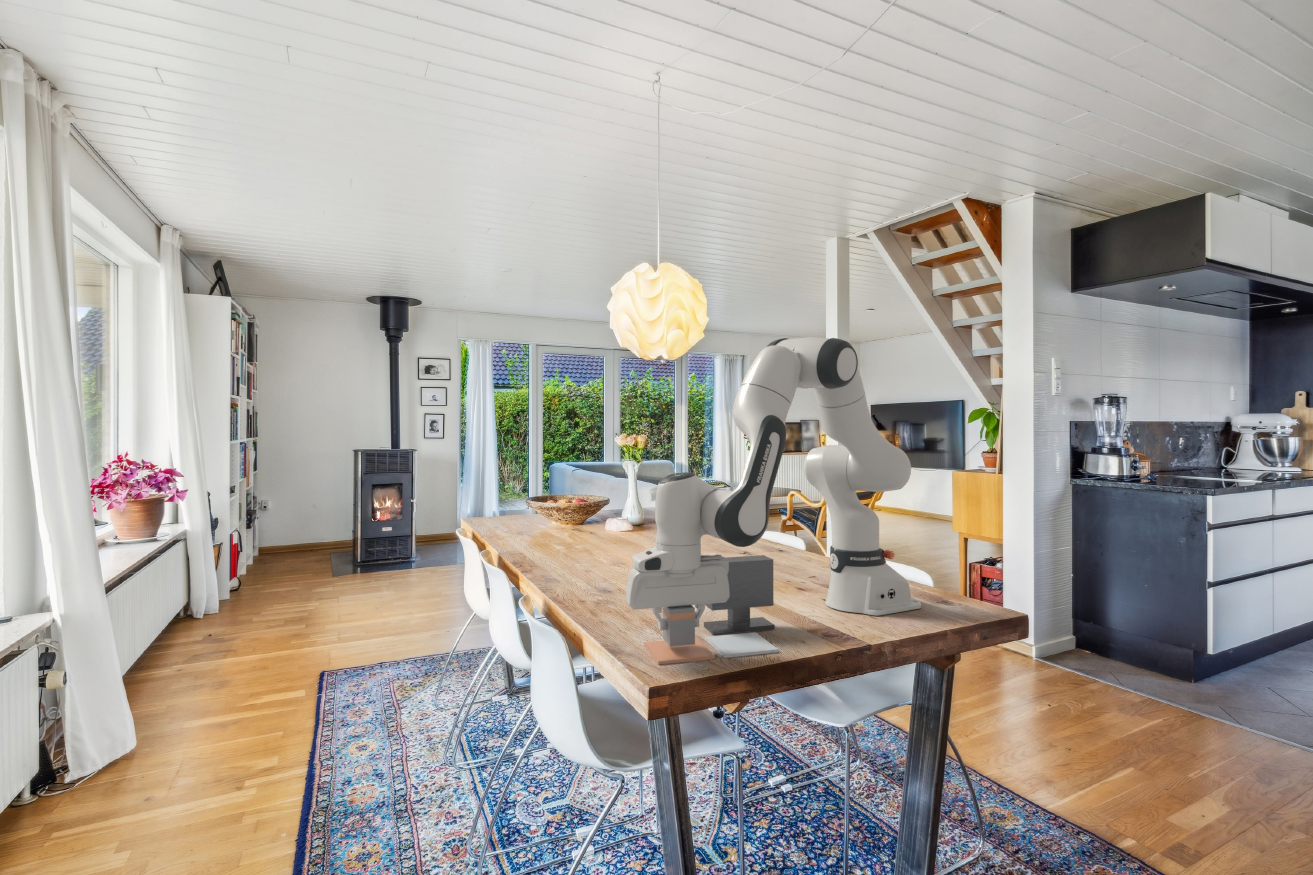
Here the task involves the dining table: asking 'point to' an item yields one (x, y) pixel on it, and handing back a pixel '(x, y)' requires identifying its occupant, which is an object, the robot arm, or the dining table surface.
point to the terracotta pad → (678, 652)
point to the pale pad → (741, 645)
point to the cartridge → (679, 625)
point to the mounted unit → (745, 595)
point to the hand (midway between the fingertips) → (678, 627)
